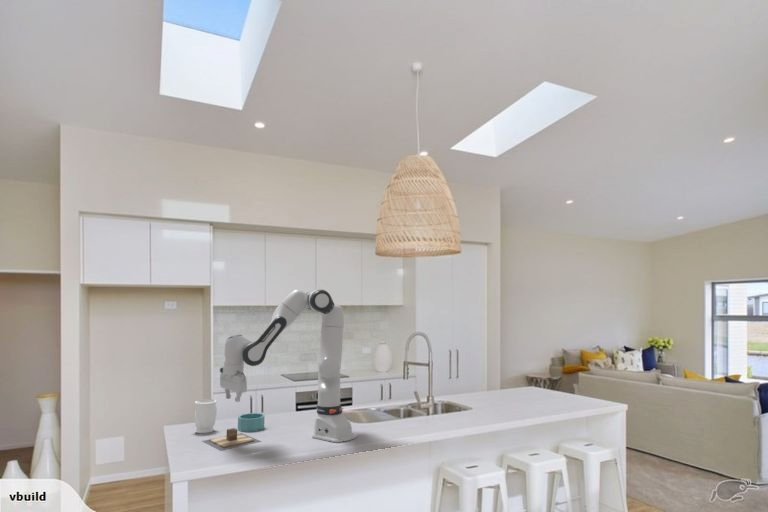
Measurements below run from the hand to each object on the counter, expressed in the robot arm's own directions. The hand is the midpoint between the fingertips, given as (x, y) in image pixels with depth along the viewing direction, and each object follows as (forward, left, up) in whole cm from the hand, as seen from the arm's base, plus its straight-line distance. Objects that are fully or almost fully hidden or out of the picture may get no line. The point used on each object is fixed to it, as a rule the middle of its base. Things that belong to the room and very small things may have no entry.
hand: (232, 400), depth 225 cm
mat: (0, 0, -19) cm, 19 cm away
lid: (0, 0, -19) cm, 19 cm away
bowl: (+15, -18, -19) cm, 30 cm away
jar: (+27, +1, -20) cm, 33 cm away
